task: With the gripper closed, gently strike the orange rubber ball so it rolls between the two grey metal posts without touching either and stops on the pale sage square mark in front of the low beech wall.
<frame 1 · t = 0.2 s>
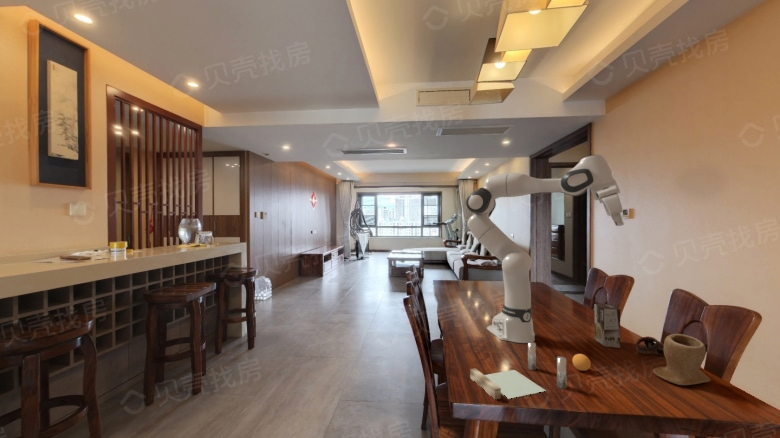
hand: (619, 225, 119), 51 cm above the table, tool tilted 20°, fingers open, 8 cm apart
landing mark: (511, 383, 98), on the table
coffee box: (607, 343, 132), on the table
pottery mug: (651, 356, 120), on the table
post 1: (531, 368, 109), on the table
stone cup: (684, 381, 100), on the table
ball: (581, 362, 108), on the table
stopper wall: (484, 387, 96), on the table
post 2: (561, 386, 97), on the table
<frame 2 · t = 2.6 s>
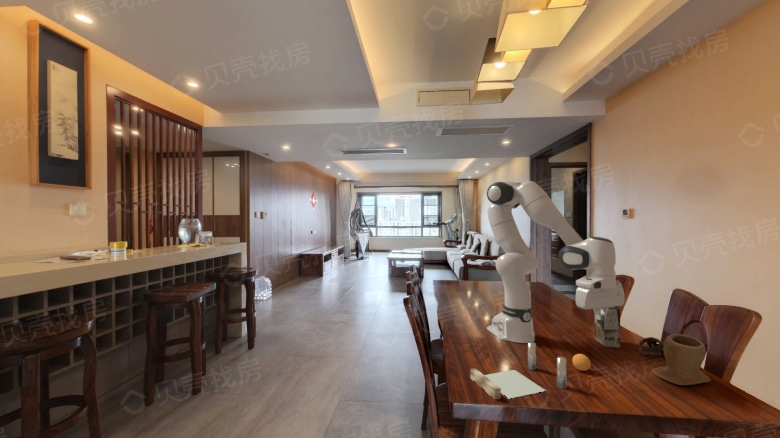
hand: (600, 319, 111), 17 cm above the table, tool pointing down, fingers closed
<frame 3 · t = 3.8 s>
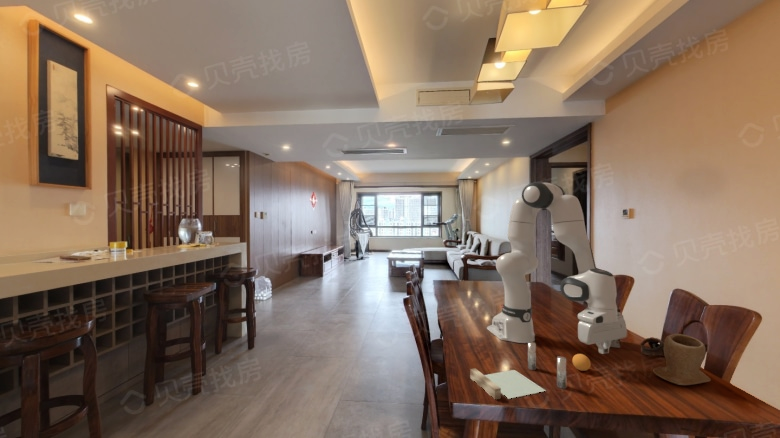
hand: (603, 352, 110), 5 cm above the table, tool pointing down, fingers closed
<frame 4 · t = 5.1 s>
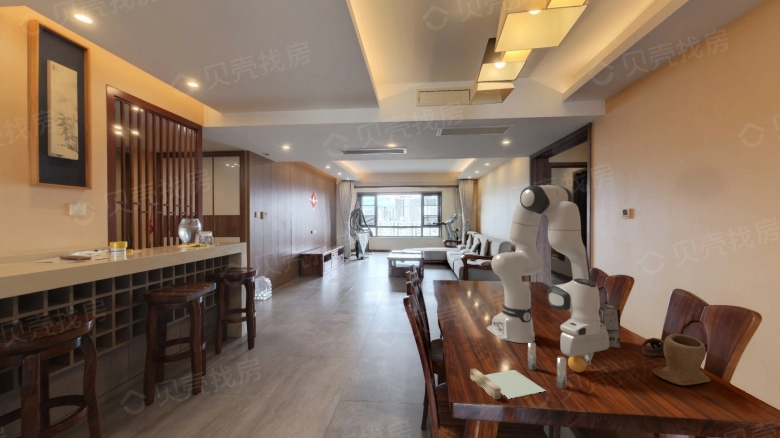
hand: (585, 364, 108), 2 cm above the table, tool pointing down, fingers closed
ball: (576, 363, 106), on the table
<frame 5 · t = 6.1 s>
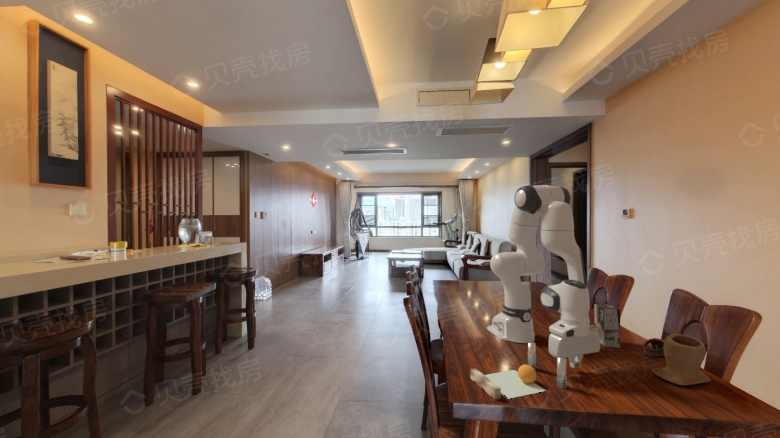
hand: (575, 366, 107), 2 cm above the table, tool pointing down, fingers closed
ball: (527, 373, 99), on the table
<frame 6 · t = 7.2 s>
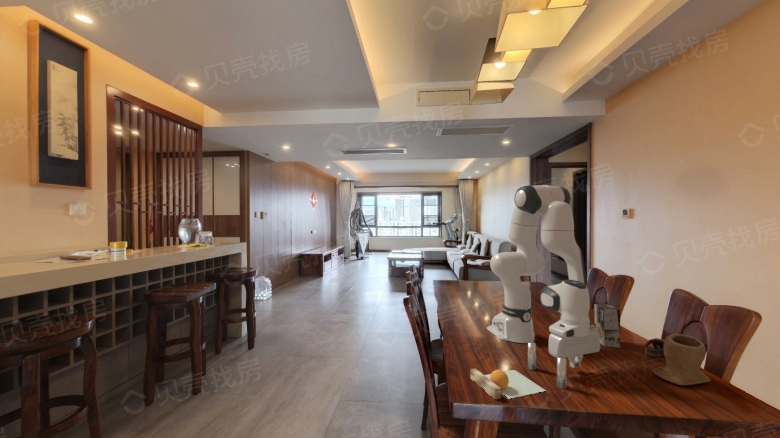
hand: (575, 366, 107), 2 cm above the table, tool pointing down, fingers closed
ball: (499, 379, 95), on the table
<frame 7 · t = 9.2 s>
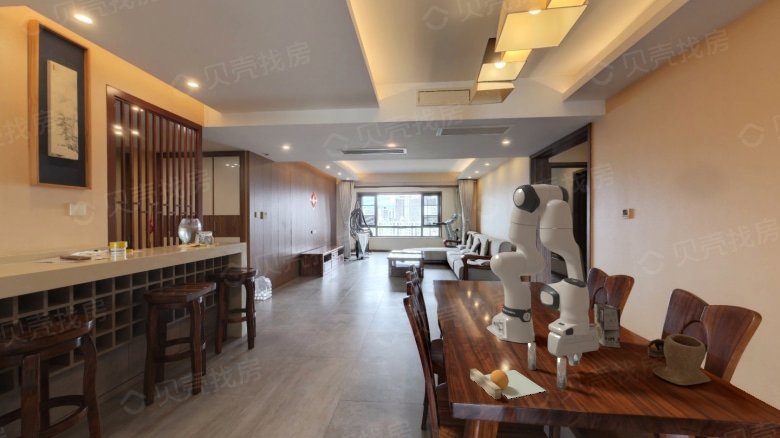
hand: (574, 364, 107), 2 cm above the table, tool pointing down, fingers closed
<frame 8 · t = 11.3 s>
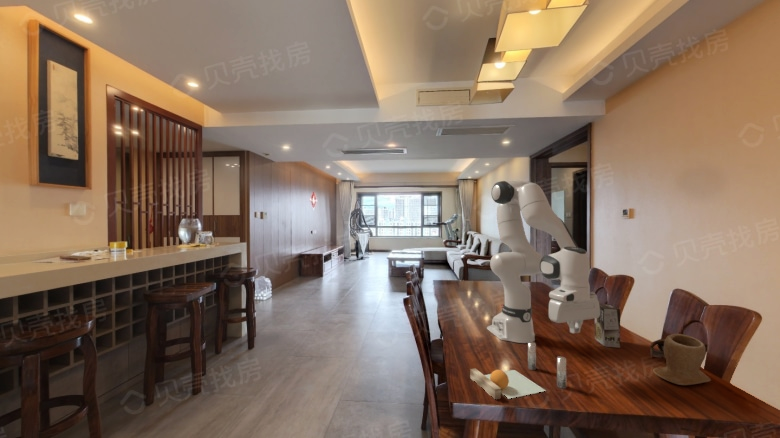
hand: (575, 332, 107), 14 cm above the table, tool pointing down, fingers closed
at the end: ball 5.8 cm from the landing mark (horizontally); ball never touched post 2; ball never touched post 1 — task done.
